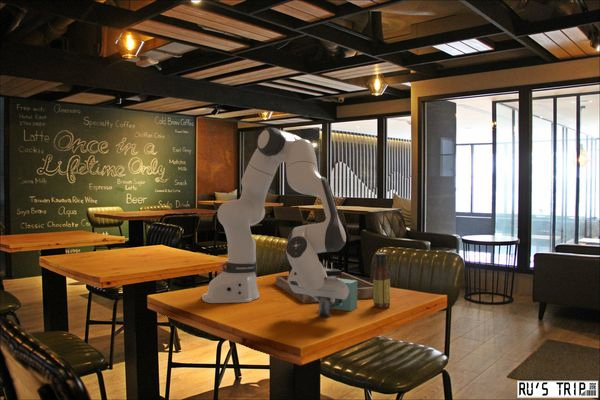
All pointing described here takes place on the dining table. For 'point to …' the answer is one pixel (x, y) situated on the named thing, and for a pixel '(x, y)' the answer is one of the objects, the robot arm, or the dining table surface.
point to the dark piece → (327, 306)
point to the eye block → (349, 297)
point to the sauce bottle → (381, 282)
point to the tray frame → (362, 286)
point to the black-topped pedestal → (330, 269)
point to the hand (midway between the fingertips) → (325, 300)
